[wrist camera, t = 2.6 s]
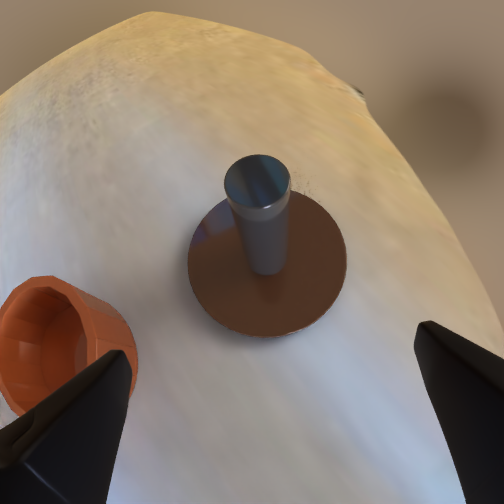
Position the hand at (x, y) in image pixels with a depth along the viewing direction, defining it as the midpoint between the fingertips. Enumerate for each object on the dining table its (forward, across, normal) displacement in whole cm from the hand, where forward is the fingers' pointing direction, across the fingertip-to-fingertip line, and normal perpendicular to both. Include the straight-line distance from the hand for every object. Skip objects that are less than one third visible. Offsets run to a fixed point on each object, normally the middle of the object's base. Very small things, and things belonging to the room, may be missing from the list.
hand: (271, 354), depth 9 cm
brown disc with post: (+14, 0, +4) cm, 15 cm away
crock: (+10, +16, +9) cm, 21 cm away
